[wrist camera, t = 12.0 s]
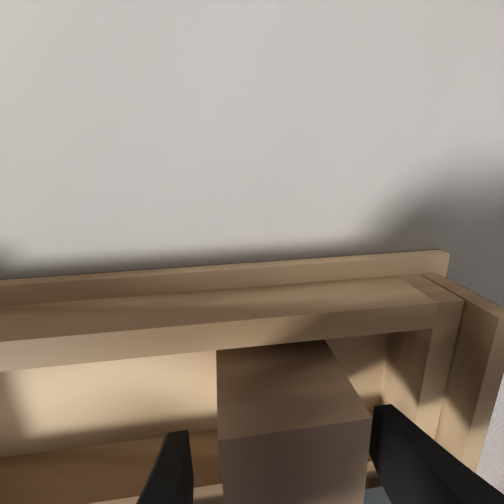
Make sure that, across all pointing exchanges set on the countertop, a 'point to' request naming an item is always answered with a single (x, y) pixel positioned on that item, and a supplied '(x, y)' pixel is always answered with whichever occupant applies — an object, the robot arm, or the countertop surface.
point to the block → (290, 426)
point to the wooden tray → (204, 362)
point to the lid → (376, 496)
